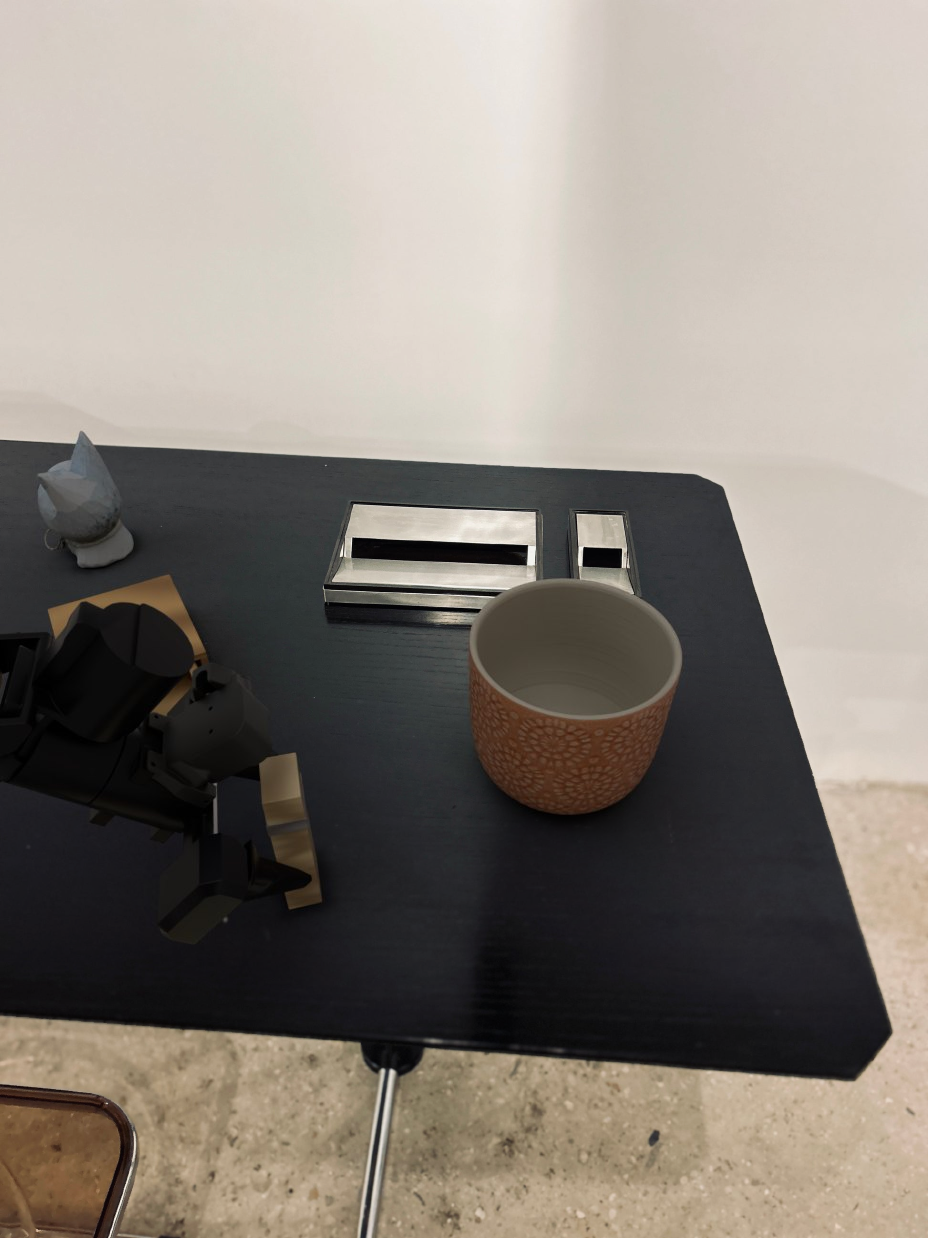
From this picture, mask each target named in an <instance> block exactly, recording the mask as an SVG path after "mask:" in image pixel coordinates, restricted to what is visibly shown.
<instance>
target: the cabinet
mask: <svg viewBox="0 0 928 1238" xmlns="http://www.w3.org/2000/svg"><path fill="white" fill-rule="evenodd" d="M83 601H87V602H89V603H92V604H94V605H96V606H98V607H100V608H103V609H104V608H105V607H107V606H108V605H110V604H112V603H117V602H131V603H135V604H139V605H141V604H142V603H145V604H148V605H150V606H152V607H154V608H156V609H158V610H159V611H161V612H163V613H164V614H166V615H167V616H168V617H170V618H171V619H172V620H173V621H174V622H175V623H176V624H177V625H178V626H179V627H180V628H181V629H182V630H183V631H184V633H185V634H186V635H187V637H188V638H189V640H190V642H191V644H192V647H193V651H194V655H195V660H194V661H195V663H196V665H197V667H200V666H202V665H204V664H206V663H208V662H210V661H209V658H208V654H207V651H206V649H205V646H204V644H203V642H202V640H201V638H200V636H199V633H198V631H197V629H196V627H195V625H194V623H193V621H192V619H191V617H190V615H189V612H188V611H187V608H186V606H185V604H184V602H183V600H182V598H181V596H180V594H179V591H178V590H177V587H176V585H175V583H174V581H173V579H172V576H171V575H170V574H165V575H162V576H157V577H154V578H151V579H148V580H144V581H141V582H138V583H134V584H129V585H127V586H123V587H120V588H116V589H112V590H110V591H106V592H103V593H99V594H96V595H92V596H88V597H85V598H82V599H79V600H75V601H72V602H67V603H65V604H61V605H57V606H54V607H50V608H47V613H48V616H49V620H50V624H51V627H52V631H53V637H54V640H55V639H56V638H57V637H58V635H59V634H60V633H61V632H62V631H63V629H64V628H65V626H66V625H67V622H68V619H69V617H70V615H71V614H72V612H73V611H74V610H75V608H76V607H77V606H78V605H79V603H80V602H83Z"/></svg>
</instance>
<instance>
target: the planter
mask: <svg viewBox="0 0 928 1238" xmlns="http://www.w3.org/2000/svg"><path fill="white" fill-rule="evenodd" d="M682 667H683V649H682V645H681V642H680V640H679V637H678V635H677V633H676V631H675V629H674V627H673V626H672V625H671V623H670V622H669V621H668V620H667V618H666V617H665V616H664V615H663V614H662V613H661V612H660V611H658V609H656V607H654V606H652V605H651V604H649V602H647V601H645V600H644V599H642V598H640V597H639V596H637V595H635V594H633V593H632V592H629V591H626V590H624V589H622V588H619V587H616V586H613V585H610V584H607V583H603V582H598V581H595V580H588V579H581V578H567V577H565V578H561V577H560V578H548V579H547V578H546V579H539V580H533V581H529V582H526V583H521V584H519V585H516V586H514V587H511V588H508V589H507V590H504V591H503V592H501V593H499V594H498V595H496V596H495V597H493V598H491V599H490V600H489V601H488V602H487V603H486V604H484V606H482V608H481V609H480V610H479V612H478V613H477V615H476V616H475V618H474V620H473V621H472V624H471V627H470V630H469V635H468V688H469V689H468V690H469V691H468V693H469V694H468V697H469V699H468V700H469V716H470V727H471V728H470V729H471V733H472V739H473V744H474V749H475V752H476V755H477V758H478V760H479V762H480V764H481V765H482V767H483V769H484V772H485V773H486V775H488V777H489V778H490V779H491V781H492V782H493V783H494V784H495V785H496V786H497V787H498V788H499V789H500V790H501V791H502V792H503V793H505V794H506V795H507V796H509V797H510V798H511V799H512V800H514V801H517V802H518V803H520V804H522V805H524V806H526V807H529V808H531V809H533V810H537V811H540V812H542V813H543V812H544V813H547V814H553V815H564V816H574V815H585V814H590V813H594V812H597V811H600V810H603V809H605V808H608V807H611V806H613V805H614V804H616V803H618V802H620V801H621V800H622V799H624V798H626V796H628V795H629V794H631V792H632V791H633V790H634V789H635V788H636V787H637V786H638V785H639V784H640V783H641V781H642V779H643V778H644V777H645V775H646V774H647V772H648V770H649V768H650V767H651V764H652V762H653V760H654V758H655V756H656V754H657V750H658V748H659V745H660V742H661V741H662V737H663V733H664V730H665V727H666V723H667V720H668V717H669V713H670V710H671V707H672V704H673V700H674V697H675V694H676V691H677V687H678V684H679V680H680V676H681V672H682Z"/></svg>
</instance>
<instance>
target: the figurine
mask: <svg viewBox="0 0 928 1238" xmlns="http://www.w3.org/2000/svg"><path fill="white" fill-rule="evenodd" d="M72 451H73V452H72V454H71V457H70V459H69V460H64V461H61V462H58V463H57V464H55V465H53V466H51V468H49V469H48V470H47V472H41V473H40V472H39V473H37V475H36V480H37V481H38V483H39V484H38V486H37V504H38V509H39V512H40V515H41V517H42V519H43V521H44V522H45V524H46V525H47V527H48V529H47V530H46V531H45V534H44V544H45V547H46V548H47V549H48V550H50V551H56V550H59V549H60V547H61V548H62V549H69V551H70V552H71V553H72V554H73V555H74V556H76V559H77V561H76V563H77V565H78V567H80V568H81V569H97V568H102V567H107V566H109V565H111V564H113V563H115V562H117V561H120V560H123V559H125V558H126V557H127V556H128V555H129V554H130V553H132V552H133V550H134V546H135V545H134V544H135V543H134V538H133V535H132V534H131V532H130V531H129V530H128V529H127V528H126V527H125V526H124V524H123V522H122V520H121V515H122V512H123V507H124V505H123V500H122V496H121V493H120V492H119V489H118V487H117V485H116V484H115V482H114V479H113V478H112V475H111V473H110V471H109V470H108V467H107V466H106V464H105V462H104V461H103V458H102V456H101V455H100V453H99V452H98V450H97V448H96V447H95V445H94V443H93V442H92V441H91V439H90V438H89V437H88V435H87V433H85V432H84V431H83V430H80V431H79V433H78V437H77V440H76V442H75V446H74V448H73V450H72ZM51 531H52V532H53V533H55V534H56V535H58V536H59V537H60V538H59V541H58V543H57V544H56V547H51V546H49V545H48V543H47V540H48V539H47V538H48V535H49V533H50V532H51Z"/></svg>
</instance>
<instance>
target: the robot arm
mask: <svg viewBox="0 0 928 1238" xmlns="http://www.w3.org/2000/svg"><path fill="white" fill-rule="evenodd" d="M194 660H195V655H194V651H193V647H192V644H191V642H190V640H189V638H188V637H187V635H186V634H185V633H184V631H183V630H182V629H181V628H180V627H179V626H178V625H177V624H176V623H175V622H174V621H173V620H172V619H171V618H170V617H168V616H167V615H166V614H164V613H163V612H161V611H159V610H158V609H156V608H154V607H152V606H150V605H148V604H145V603H142V604H141V605H139V604H135V603H131V602H117V603H112V604H110V605H108V606H107V607H105V608H104V609H103V608H100V607H98V606H96V605H94V604H92V603H89V602H87V601H83V602H80V603H79V605H78V606H77V607H76V608H75V610H74V611H73V612H72V614H71V615H70V617H69V619H68V622H67V625H66V626H65V628H64V629H63V631H62V632H61V633H60V634H59V635H58V637H57V638H56V639H55V638H54V634H52V633H51V632H49V631H38V632H37V631H35V632H32V631H31V632H20V631H19V632H18V631H17V632H13V633H0V688H1V687H2V683H3V675H5V674H7V673H8V675H7V678H6V682H5V686H4V690H3V693H2V697H1V701H0V784H1V783H5V784H9V785H12V786H15V787H18V788H22V789H25V790H28V791H32V792H35V793H39V794H42V795H46V796H49V797H52V798H56V799H59V800H62V801H66V802H69V803H72V804H76V805H80V806H82V807H86V808H89V809H90V812H89V820H88V823H90V824H92V825H97V826H100V827H103V828H105V827H106V826H107V824H109V823H110V822H111V821H112V819H113V818H114V817H115V816H117V817H120V818H123V819H126V820H130V821H134V822H137V823H141V824H144V825H147V826H149V841H153V842H157V843H160V844H165V842H167V841H168V840H169V839H170V838H171V837H172V836H173V835H174V834H175V833H176V834H183V837H182V838H183V839H182V840H183V841H182V842H183V844H182V845H183V846H182V853H181V854H180V855H179V856H178V857H177V858H176V859H175V860H174V861H173V862H171V864H170V865H169V866H168V867H166V869H165V870H164V871H163V872H162V873H161V874H160V875H159V876H158V897H157V917H156V919H157V921H156V925H157V928H158V929H159V931H160V933H161V935H162V936H163V937H165V938H167V939H168V940H171V941H175V942H181V943H185V944H189V945H195V944H197V943H198V942H199V941H200V940H201V939H202V938H203V937H204V936H206V935H207V934H208V933H209V932H210V931H211V930H212V929H214V928H215V927H216V926H217V925H218V924H219V923H220V922H221V921H222V920H224V919H225V918H226V917H227V916H228V915H229V914H230V913H231V912H232V911H233V910H235V909H236V908H237V907H239V905H240V904H243V903H247V902H250V901H254V900H259V899H263V898H267V897H271V896H276V895H279V894H285V892H289V891H293V890H297V889H302V888H304V887H306V886H307V885H308V884H309V883H310V882H311V881H312V876H311V875H310V874H308V873H306V872H304V871H302V870H300V869H297V868H295V867H292V866H288V865H285V864H282V863H279V862H277V861H276V860H273V859H270V858H267V857H264V856H261V855H259V853H258V851H257V847H256V845H255V842H254V840H253V839H252V838H250V839H248V841H247V842H246V843H244V844H242V843H241V841H240V840H239V839H238V837H237V836H234V835H231V834H229V833H225V832H222V831H220V832H219V828H218V827H219V824H218V823H219V822H218V820H219V819H218V783H220V782H222V781H224V780H226V779H229V778H230V777H236V778H241V779H246V780H251V781H257V782H260V771H259V764H260V763H261V762H263V761H264V760H265V759H266V758H268V757H273V756H279V755H280V754H278V753H277V752H276V751H275V749H273V739H272V737H271V732H270V722H269V721H270V720H269V719H270V718H271V716H270V715H271V714H270V710H269V708H267V707H266V706H265V705H264V703H262V702H261V701H260V700H259V699H258V698H257V697H256V696H255V695H254V694H253V685H252V679H251V677H250V676H247V675H239V674H238V673H237V671H235V670H233V669H232V668H229V667H226V666H224V665H220V664H217V663H214V662H211V661H209V662H208V663H206V664H204V665H202V666H200V667H198V668H196V669H195V670H193V672H192V687H191V688H190V689H189V690H188V691H187V692H186V693H185V694H184V696H183V697H182V698H181V699H180V700H179V701H178V702H177V703H176V704H175V705H174V706H173V707H172V709H171V710H170V711H169V712H168V713H167V716H164V715H162V714H159V713H156V712H152V711H153V710H154V709H155V708H156V707H157V705H158V704H159V703H160V702H161V701H162V700H163V699H164V698H165V697H166V696H167V694H168V693H169V692H170V691H171V690H172V689H173V688H174V687H175V686H176V685H177V683H178V682H179V681H180V680H181V679H182V678H183V677H184V676H185V675H186V674H187V673H188V671H189V670H190V669H191V668H192V666H193V663H194ZM151 712H152V713H151ZM150 713H151V714H150Z"/></svg>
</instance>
